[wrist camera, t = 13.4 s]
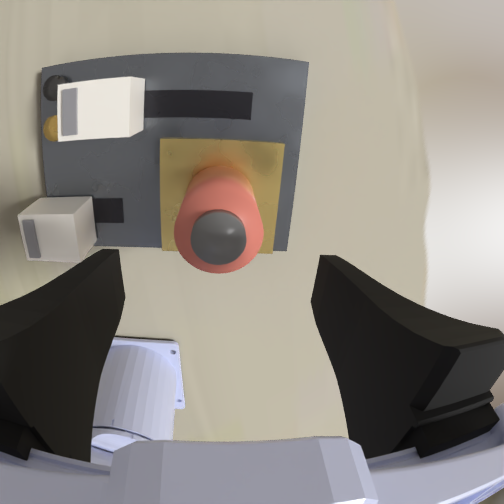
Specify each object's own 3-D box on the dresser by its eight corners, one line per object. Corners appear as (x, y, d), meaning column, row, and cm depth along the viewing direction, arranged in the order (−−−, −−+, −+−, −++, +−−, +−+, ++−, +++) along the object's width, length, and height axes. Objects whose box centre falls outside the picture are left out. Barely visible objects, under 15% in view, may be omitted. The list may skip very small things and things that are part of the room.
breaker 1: (96, 240, 19) (79, 264, 17) (47, 239, 19) (25, 261, 16) (91, 196, 18) (72, 215, 15) (40, 197, 18) (15, 216, 15)
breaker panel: (283, 243, 22) (288, 255, 21) (61, 237, 21) (51, 248, 19) (303, 63, 17) (311, 61, 15) (50, 68, 15) (37, 67, 13)
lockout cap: (251, 230, 20) (261, 280, 15) (186, 229, 20) (174, 279, 15) (256, 166, 18) (268, 197, 13) (185, 165, 18) (170, 195, 13)
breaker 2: (143, 129, 17) (128, 137, 14) (80, 133, 16) (56, 142, 13) (145, 78, 15) (129, 76, 12) (80, 84, 15) (55, 84, 12)
